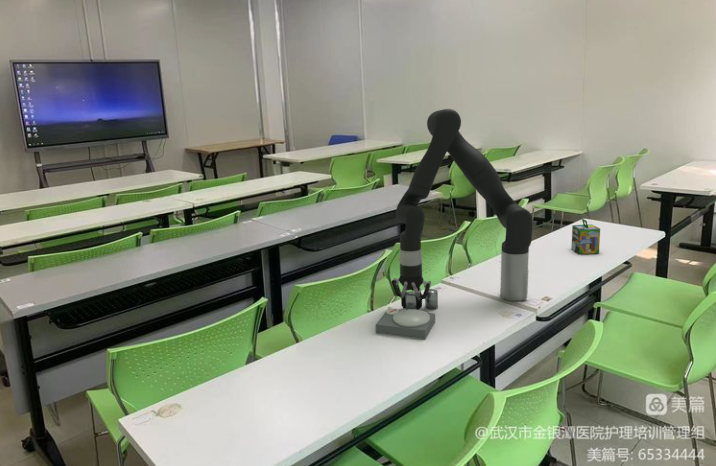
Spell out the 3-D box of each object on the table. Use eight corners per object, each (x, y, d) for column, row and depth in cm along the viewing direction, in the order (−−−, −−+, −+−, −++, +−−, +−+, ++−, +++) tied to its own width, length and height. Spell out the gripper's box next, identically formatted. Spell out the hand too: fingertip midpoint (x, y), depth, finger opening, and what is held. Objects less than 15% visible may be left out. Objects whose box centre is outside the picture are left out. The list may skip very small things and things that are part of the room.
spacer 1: (419, 308, 184) (419, 292, 183) (416, 313, 181) (416, 296, 179) (407, 306, 186) (407, 290, 185) (403, 311, 182) (403, 295, 181)
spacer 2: (439, 305, 186) (438, 289, 184) (436, 310, 182) (436, 294, 180) (426, 304, 187) (426, 288, 186) (423, 309, 184) (423, 293, 182)
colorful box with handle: (599, 254, 233) (601, 221, 229) (578, 255, 233) (580, 222, 229) (590, 248, 242) (592, 216, 238) (570, 248, 242) (572, 217, 238)
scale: (435, 321, 173) (435, 310, 172) (425, 339, 161) (425, 327, 160) (388, 316, 179) (388, 305, 178) (376, 333, 167) (375, 321, 166)
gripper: (434, 259, 180) (434, 306, 184) (393, 256, 185) (395, 302, 189) (428, 266, 173) (429, 315, 177) (387, 263, 178) (388, 310, 182)
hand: (411, 308), depth 183 cm, fingers closed on spacer 1, 4 cm apart
